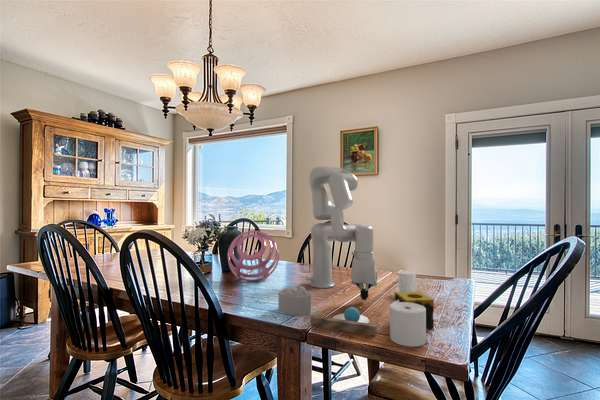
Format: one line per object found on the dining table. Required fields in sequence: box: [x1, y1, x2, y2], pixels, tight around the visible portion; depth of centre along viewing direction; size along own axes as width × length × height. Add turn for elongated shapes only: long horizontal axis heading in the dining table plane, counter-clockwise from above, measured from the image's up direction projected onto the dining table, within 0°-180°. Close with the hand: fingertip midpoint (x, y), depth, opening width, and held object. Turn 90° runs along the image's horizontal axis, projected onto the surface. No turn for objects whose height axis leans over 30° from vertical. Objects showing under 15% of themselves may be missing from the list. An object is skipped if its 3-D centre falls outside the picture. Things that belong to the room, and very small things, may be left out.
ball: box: [343, 306, 361, 322], centre depth 115 cm, size 6×6×6 cm
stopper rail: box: [310, 315, 378, 337], centre depth 109 cm, size 22×2×3 cm, turn 66°
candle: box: [394, 291, 435, 330], centre depth 114 cm, size 10×10×10 cm
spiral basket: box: [227, 230, 280, 283], centre depth 181 cm, size 28×28×27 cm
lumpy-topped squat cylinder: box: [277, 286, 312, 317], centre depth 129 cm, size 10×13×9 cm
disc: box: [332, 312, 370, 324], centre depth 118 cm, size 13×13×1 cm
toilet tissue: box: [389, 300, 427, 347], centre depth 102 cm, size 11×12×10 cm
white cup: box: [397, 270, 417, 292], centre depth 151 cm, size 8×8×10 cm
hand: (364, 299), depth 138 cm, fingers closed
